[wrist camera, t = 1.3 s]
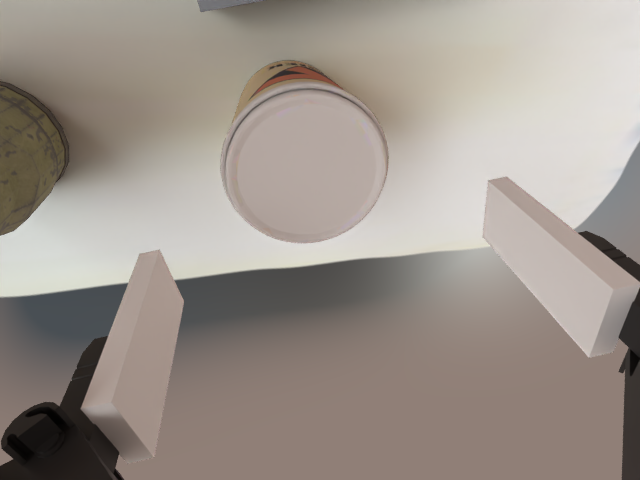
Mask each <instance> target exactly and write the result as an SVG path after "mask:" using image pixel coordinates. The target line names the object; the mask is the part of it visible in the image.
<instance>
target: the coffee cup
mask: <svg viewBox="0 0 640 480" xmlns="http://www.w3.org/2000/svg"><path fill="white" fill-rule="evenodd" d="M387 170H388V147H387V142H386V138H385V135H384V132H383V130H382V128H381V126H380V123H379V122H378V120H377V118H376V117H375V115H374V114H373V113H372V112H371V110H370V109H369V108H368V107H367V106H366V105H365V104H364V103H363V102H362V101H360V100H359V99H358V98H357V97H355V96H353V95H352V94H350V93H348V92H347V91H345V90H343V89H342V88H341V87H340V86H338V85H337V84H336V83H335V82H333V81H332V80H331V79H329V78H328V77H327V76H325V75H324V74H323V73H321V72H320V71H318V70H317V69H315V68H314V67H312V66H310V65H307V64H305V63H302V62H297V61H279V62H275V63H272V64H269V65H267V66H265V67H263V68H262V69H260V70H259V71H258V72H256V73H255V74H254V75H253V76H252V77H251V79H250V80H249V81H248V83H247V84H246V86H245V88H244V90H243V92H242V95H241V97H240V100H239V103H238V106H237V109H236V112H235V115H234V119H233V122H232V125H231V127H230V129H229V131H228V133H227V136H226V138H225V141H224V145H223V148H222V154H221V176H222V181H223V185H224V189H225V192H226V194H227V196H228V198H229V200H230V202H231V204H232V205H233V207H234V209H235V210H236V211H237V212H238V214H239V215H240V216H241V217H242V218H243V219H244V220H245V221H246V222H248V223H249V224H250V225H251V226H253V227H254V228H255V229H257V230H259V231H260V232H262V233H264V234H266V235H267V236H270V237H272V238H275V239H278V240H282V241H286V242H292V243H313V242H319V241H324V240H327V239H330V238H333V237H336V236H338V235H340V234H342V233H344V232H346V231H348V230H349V229H351V228H352V227H354V226H355V225H356V224H357V223H359V222H360V221H361V220H362V219H363V218H364V217H365V216H366V215H367V214H368V213H369V211H370V210H371V209H372V207H373V206H374V204H375V203H376V201H377V199H378V197H379V195H380V193H381V191H382V188H383V186H384V183H385V179H386V175H387Z"/></svg>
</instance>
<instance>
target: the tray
mask: <svg viewBox="0 0 640 480" xmlns="http://www.w3.org/2000/svg"><path fill="white" fill-rule="evenodd" d="M259 1H264V0H198V4H199V8H200V11H201V12H204V11H210V10H215V9H220V8H226V7H231V6H237V5H242V4H248V3H253V2H259Z"/></svg>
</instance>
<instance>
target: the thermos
mask: <svg viewBox="0 0 640 480" xmlns="http://www.w3.org/2000/svg"><path fill="white" fill-rule="evenodd" d="M68 162H69V145H68V142H67V140H66V137H65V134H64V131H63V128H62V127H61V125H60V124H59V123H58V121H57V120H56V119H55V117H54V116H53V114H52V113H51V112H50V110H48V109H47V108H46V107H45V106H44V105H43V104H41V103H40V102H39V101H38V100H37V99H36V98H34V97H33V96H32V95H30V94H28V93H26V92H25V91H23V90H21V89H19V88H17V87H15V86H13V85H11V84H8V83H4V82H0V236H1V235H4V234H6V233H9V232H12V231H14V230H15V229H17V228H18V227H19V226H20V225H21V224H22V223H23V222H25V221H26V220H27V219H28V218H29V217H30V216H31V214H32V213H33V212H34V211H35V210H36V209H37V208H38V206H39V205H40V204H41V203H42V202H43V201H44V200H45V198H46V197H47V196H48V195H49V194H50V193H51V191H52V189H53V187H54V185H55V183H56V182H57V181H58V180H59V179H60V178H61V177H62V176H63V173H64V171H65V169H66V167H67V164H68Z"/></svg>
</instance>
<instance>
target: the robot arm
mask: <svg viewBox="0 0 640 480" xmlns="http://www.w3.org/2000/svg"><path fill="white" fill-rule="evenodd" d="M483 238H484V239H485V240H486V242H487V243H488V244H489V245H490V246H491V247H492V248H493V250H494V251H495V252H496V253H497V254H498V255H499V256H500V257H501V258H502V260H503V261H504V262H505V263H506V264H507V265H508V266H509V268H510V269H511V270H512V271H513V272H514V273H515V274H516V276H517V277H518V278H519V279H520V280H521V281H522V282H523V283H524V285H525V286H526V287H527V288H528V289H529V290H530V291H531V293H532V294H533V295H534V296H535V297H536V298H537V299H538V300H539V301H540V303H541V304H542V305H543V306H544V307H545V308H546V309H547V310H548V312H549V313H550V314H551V315H552V316H553V317H554V319H556V321H557V322H558V323H559V324H560V325H561V326H562V327H563V329H564V330H565V331H566V332H567V333H568V334H569V335H570V336H571V338H572V339H573V340H574V341H575V342H576V343H577V344H578V346H579V347H580V348H581V349H582V350H583V351H584V352H585V353H586V355H587V356H588V357H589V358H590V357H594V356H599V355H603V354H607V353H612V352H614V349H615V347H616V345H617V342H618V340H619V338H620V339H621V340H622V341H623V342H624V343H625V344H626V345H627V346H628V347H629V349H628V351H627V353H626V355H625V358H624V360H623V362H622V365H621V367H620V369H619V372H621V373H623V372H624V370H625V394H624V425H623V460H622V462H623V463H622V480H640V265H639V264H637V263H636V262H635V261H633V260H632V259H631V258H629V257H626V255H625V254H624V253H623V252H621V251H620V250H617V249H616V247H614V246H613V245H612V244H611V243H609V242H608V241H607V240H605V239H604V238H602V237H600V236H597V235H595V234H593V233H590V232H588V231H585V232H580V233H577V232H576V231H575V230H573V229H572V228H571V227H569V226H568V225H567V224H566V223H564V222H563V221H562V220H561V219H559V218H558V217H557V216H556V215H554V214H553V213H552V212H551V211H549V210H548V209H547V208H546V207H544V206H543V205H542V204H540V203H539V202H538V201H537V200H535V199H534V198H533V197H532V196H530V195H529V194H528V193H527V192H525V191H524V190H523V189H522V188H520V187H519V186H518V185H516V184H515V183H514V182H513V181H511V180H510V179H509V178H508V177H503V178H498V179H493V180H489V181H488V187H487V197H486V207H485V217H484V227H483ZM183 304H184V300H183V298H182V296H181V294H180V292H179V290H178V288H177V286H176V284H175V281H174V279H173V277H172V275H171V273H170V271H169V269H168V267H167V265H166V262H165V260H164V258H163V256H162V254H161V252H160V250H156V251H151V252H146V253H142V254H139V257H138V260H137V262H136V265H135V267H134V270H133V273H132V275H131V278H130V281H129V283H128V286H127V289H126V291H125V294H124V296H123V299H122V302H121V304H120V307H119V309H118V312H117V315H116V317H115V320H114V323H113V325H112V328H111V330H110V333H109V336H106V337H101V338H97V339H94V340H93V341H92V342H91V344H90V345H89V346H88V347H87V348H86V350H85V351H84V352H83V353H82V356H81V358H80V360H79V363H78V365H77V369H76V370H75V372H74V374H73V377H72V381H71V382H70V384H69V386H68V388H67V391H66V393H65V395H64V397H63V400H62V402H61V404H60V407H59V406H58V405H56V404H55V403H53V402H44V403H41V404H38V405H34V406H33V407H31V408H29V409H28V410H26V411H24V412H23V413H21V414H20V415H19V416H18V417H17V418H16V419H14V420H13V421H12V423H11V424H10V425H9V427H8V428H7V429H6V430H5V433H4V435H3V438H2V440H1V445H2V449H3V450H4V451H5V452H6V453H7V454H9V455H10V456H11V457H12V458H13V460H11V461H9V462H7V463H5V464H3V465H1V466H0V480H124V479H123V477H122V476H121V474H120V473H119V472H118V471H117V470H116V469H115V467H116V463H117V459H118V455H119V454H120V456H121V457H122V458H123V459H124V460H125V461H126V462H127V464H129V463H133V462H138V461H142V460H146V459H151V458H154V456H155V451H156V445H157V440H158V435H159V430H160V425H161V419H162V414H163V408H164V403H165V398H166V393H167V388H168V382H169V378H170V372H171V367H172V362H173V356H174V351H175V346H176V341H177V336H178V331H179V325H180V320H181V315H182V309H183Z"/></svg>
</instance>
